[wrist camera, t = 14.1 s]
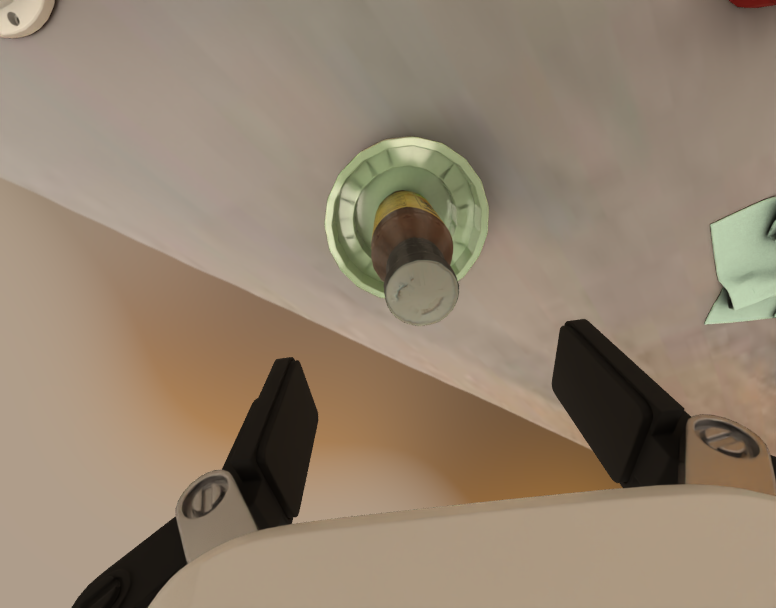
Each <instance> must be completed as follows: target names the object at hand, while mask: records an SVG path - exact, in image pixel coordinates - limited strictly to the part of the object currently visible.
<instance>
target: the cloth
mask: <svg viewBox="0 0 776 608" xmlns="http://www.w3.org/2000/svg"><path fill="white" fill-rule="evenodd" d="M710 227H711V237H712V244H713V252H714V260H715V265H716V273H717V277H718V281H719V282H720V283H721V284H722V285H723V286H724V287H723V288H722V290H721V293H720V295H719V297H718V299H717V300H716V302H715V303H714V305H713V307H712V309H711V311H710V313H709V315H708V317H707V319H706V321H705V323H704V324H717V323H731V322H742V321H751V320H759V319H768V318H776V197H772V198H768V199H765V200H763V201H760V202H758V203H756V204H753V205H751V206H749V207H747V208H745V209H742V210H740V211H738V212H736V213H734V214H731V215H729V216H727V217H725V218H723V219H721V220H719V221H717V222H714V223H712V224H710Z"/></svg>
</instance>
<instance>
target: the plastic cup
mask: <svg viewBox="0 0 776 608" xmlns="http://www.w3.org/2000/svg"><path fill="white" fill-rule="evenodd" d="M729 1H730V2H731V3H733V4H734V5H736V6H737V7H744V8H760V7H766V6H772V5H776V0H729Z"/></svg>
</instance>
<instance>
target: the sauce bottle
mask: <svg viewBox="0 0 776 608" xmlns="http://www.w3.org/2000/svg"><path fill="white" fill-rule="evenodd" d="M371 250H372V251H371V258H372V263H373V268H374V270H375V271H376V273H377V274H378V276H379V277H380V279H381V280H382V281H383V282H384V294H385V299H386V303H387V306H388V308H389V309H390V311H391V313H392V314H393V315H394V316H395V317H396V318H398V319H399V320H401V321H403V322H404V323H408V324H411V325H415V326H425V325H430V324H434V323H437V322H439V321H441V320H442V319H444V318H445V317H446V316H447V315H448V314H449V313H450V312H451V311H452V310H453V308H454V306H455V304H456V302H457V299H458V295H459V284H458V281H457V277H456V275H455V273H454V271H453V269H452V267H451V266H450V265H451V261H452V255H453V240H452V237H451V234H450V232H449V230H448V228H447V227H446V225H445V224H444V223H443V221H442V220H441V219H440V217H439V216H438V214H437V213H436V212H435V210H434V209H433V208H432V206H431V205H430V203H429V202H428V201H427V200H426V199H425V198H424V197H423V196H421V195H420V194H417V193H415V192H411V191H404V190H399V191H396V192H394V193H392V194H390V195H389V196H387V197H386V198H385V199H384V200H383V201H382V202H381V203H380V205H379V207H378V209H377V212H376V215H375V220H374V227H373V234H372V240H371Z"/></svg>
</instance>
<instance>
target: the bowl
mask: <svg viewBox="0 0 776 608" xmlns="http://www.w3.org/2000/svg"><path fill="white" fill-rule="evenodd" d="M399 190H404V191H411V192H415V193H417V194H420V195H421V196H423V197H424V198H425V199H426V200H427V201H428V202H429V203H430V205H431V206H432V208H433V209H434V210H435V212H436V213H437V214H438V216H439V217H440V219H441V220H442V221H443V223H444V224H445V225H446V227H447V228H448V230H449V232H450V234H451V237H452V240H453V255H452V261H451V265H450V266H451V267H452V269H453V271H454V273H455V275H456V277H457V281H459V280H460V279H462V278H463V277H464V276H465V275H466V273H467V272H468V271H469V269H470V268H471V267H472V265H473V264H474V263H475V261H476V260H477V259H478V257H479V255H480V253H481V250H482V247H483V244H484V242H485V239H486V236H487V233H488V215H489V206H488V202H487V199H486V195H485V192H484V188H483V185H482V182H481V180H480V178H479V177H478V176H477V174H476V173H475V171H474V170H473V169H472V167H471V166H470V164H469V163H468V162H467V160H466V159H465V158H464V157H462V156H461V155H459V154H458V153H456V152H455V151H453V150H452V149H450V148H449V147H447V146H446V145H444V144H443V143H440V142H436V141H431V140H427V139H423V138H419V137H415V136H405V137H397V138H389V139H384V140H382V141H380V142H378V143H376V144H374V145H372V146H370V147H368V148H366V149H364V150H362V151H361V152H360V153H359V154H358V155H357V156H356V157H355V158H354V159H353V160H352V161H351V162H350V163H349V164H348V165H347V166H346V167H345V168H344V169H343V170H342V171H341V172H340V174H339V175H338V177H337V179H336V182H335V184H334V186H333V188H332V190H331V192H330V195H329V197H328V199H327V207H326V216H325V224H324V225H325V231H326V236H327V240H328V245H329V250H330V252H331V254H332V255H333V257H334V259H335V261H336V263H337V264H338V266H339V268H340V270H341V271H342V272H343V273H344V274H345V275H346V276H347V277H348V278H349V279H350V280H351V281H352V282H353V283H354V284H355V285H357V286H358V287H359V288H361V289H363V290H365V291H367V292H369V293H371V294H373V295H375V296H377V297H380V298H385V294H384V282H383V281H382V280H381V279H380V277H379V276H378V274H377V273H376V271H375V270H374V268H373V263H372V258H371V251H372V250H371V240H372V234H373V227H374V220H375V215H376V212H377V209H378V207H379V205H380V203H381V202H382V201H383V200H384V199H385V198H386V197H387V196H389V195H390V194H392V193H394V192H396V191H399Z"/></svg>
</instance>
